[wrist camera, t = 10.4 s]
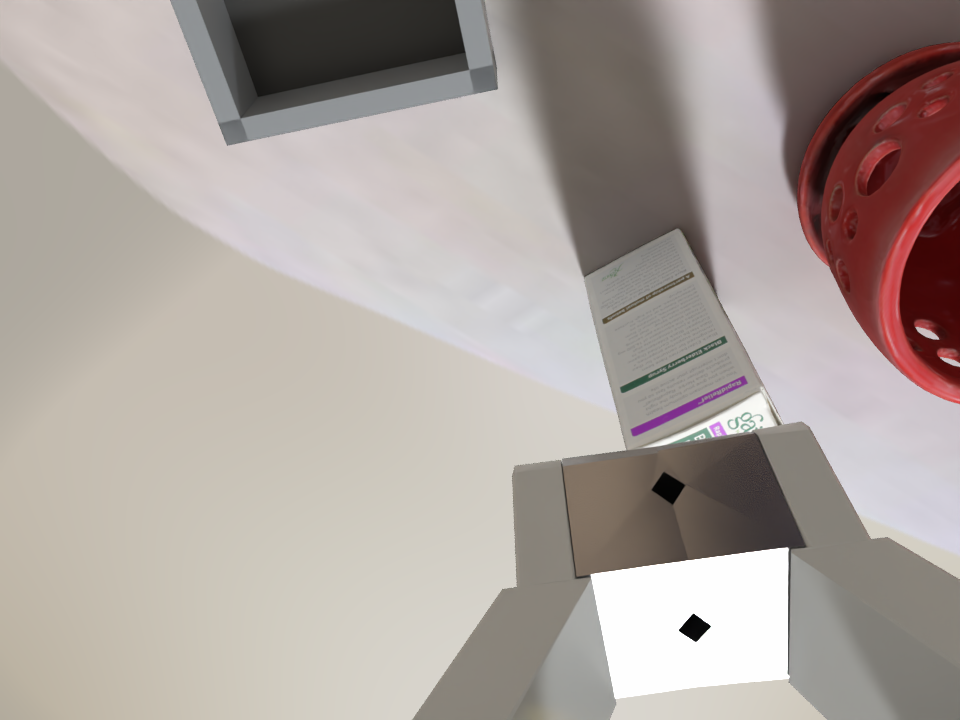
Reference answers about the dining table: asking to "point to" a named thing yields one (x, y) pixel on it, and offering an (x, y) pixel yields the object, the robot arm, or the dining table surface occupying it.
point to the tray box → (332, 59)
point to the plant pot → (894, 210)
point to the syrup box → (672, 350)
